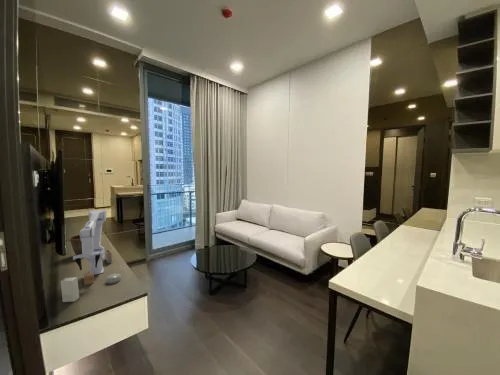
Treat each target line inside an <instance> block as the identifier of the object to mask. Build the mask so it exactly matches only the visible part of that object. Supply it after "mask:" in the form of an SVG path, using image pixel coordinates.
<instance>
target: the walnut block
mask: <svg viewBox="0 0 500 375" xmlns="http://www.w3.org/2000/svg"><path fill="white" fill-rule="evenodd" d="M94 276H95V275H94V272H92V273H89V272H88V273H84V277H83V281H84V282H83V283H84V286H88V285H92V284H94V282H95V277H94Z"/></svg>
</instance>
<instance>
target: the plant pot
mask: <svg viewBox="0 0 500 375" xmlns="http://www.w3.org/2000/svg"><path fill="white" fill-rule="evenodd" d="M69 240H70V241H69V242H70V245H71V247H72V251H73V252H74V254H75V256H76V255H80V254H82V241H81V239H80V234H77V235H74V236H71V237H69Z"/></svg>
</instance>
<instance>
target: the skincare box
mask: <svg viewBox="0 0 500 375" xmlns="http://www.w3.org/2000/svg"><path fill="white" fill-rule="evenodd" d="M78 280H79V279H78V276H75V277H65V278H63V279H61V280H60V289H61V297H62V298H61V299H62V303H71V302H72V303H74V302H76V301H78V299H79V298H80V291H79V281H78Z"/></svg>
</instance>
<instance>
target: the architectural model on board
mask: <svg viewBox="0 0 500 375" xmlns="http://www.w3.org/2000/svg"><path fill="white" fill-rule="evenodd" d="M112 252H113V250H112V249H111V250H110V249H105V256H104V258H105V261H106V262H107V264H108V263H109V264H112V263H113V258H112V257H113V256H112V255H113V254H112ZM111 262H112V263H111Z"/></svg>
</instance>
